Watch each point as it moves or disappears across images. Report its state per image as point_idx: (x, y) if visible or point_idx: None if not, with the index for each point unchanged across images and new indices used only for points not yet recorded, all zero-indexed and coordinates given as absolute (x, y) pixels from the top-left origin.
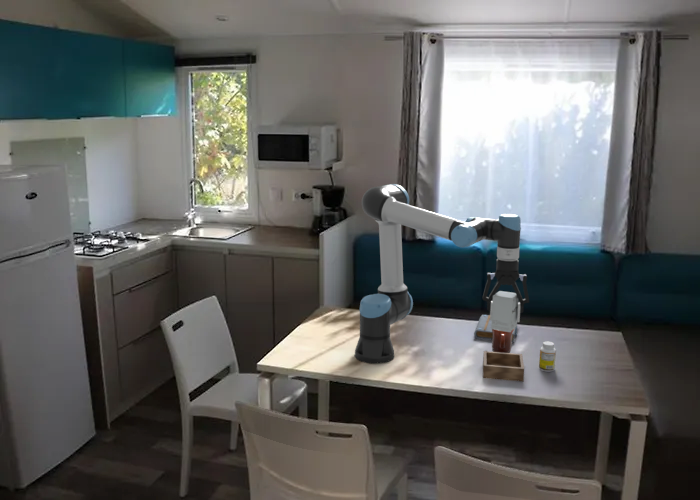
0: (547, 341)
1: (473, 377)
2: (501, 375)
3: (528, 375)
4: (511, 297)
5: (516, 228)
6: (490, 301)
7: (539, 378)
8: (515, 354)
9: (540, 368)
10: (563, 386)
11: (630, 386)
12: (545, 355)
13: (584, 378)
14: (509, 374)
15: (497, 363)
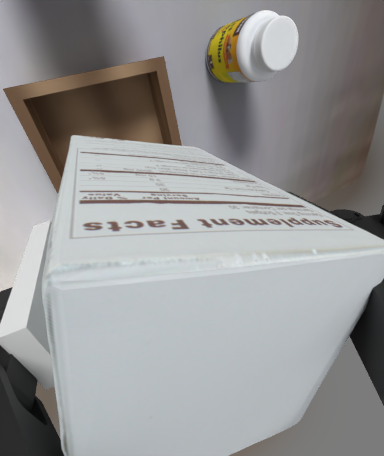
0: (278, 19)
1: (49, 220)
2: None
3: (183, 131)
4: (293, 418)
5: None
6: (37, 408)
7: (210, 138)
8: (141, 72)
9: (211, 73)
10: (259, 159)
11: (375, 91)
12: (247, 81)
13: (305, 85)
14: None
15: (75, 90)
